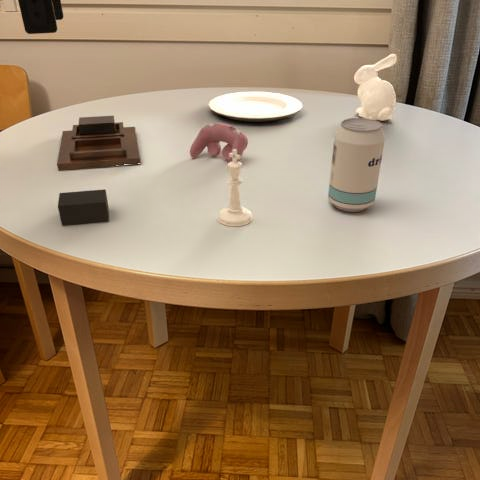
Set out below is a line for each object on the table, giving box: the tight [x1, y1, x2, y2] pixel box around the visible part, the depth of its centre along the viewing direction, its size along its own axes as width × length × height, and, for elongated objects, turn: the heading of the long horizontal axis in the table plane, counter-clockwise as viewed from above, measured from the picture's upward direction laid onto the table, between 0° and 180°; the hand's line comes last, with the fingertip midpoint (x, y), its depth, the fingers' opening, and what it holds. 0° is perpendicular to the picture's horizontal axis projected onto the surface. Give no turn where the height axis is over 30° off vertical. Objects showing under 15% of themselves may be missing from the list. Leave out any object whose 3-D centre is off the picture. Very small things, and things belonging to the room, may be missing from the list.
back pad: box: [57, 189, 110, 226], centre depth 75 cm, size 6×4×3 cm
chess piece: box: [217, 149, 253, 227], centre depth 73 cm, size 5×5×10 cm
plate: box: [208, 91, 303, 123], centre depth 118 cm, size 21×21×2 cm
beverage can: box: [327, 117, 386, 213], centre depth 76 cm, size 7×7×12 cm
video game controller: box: [189, 122, 249, 164], centre depth 94 cm, size 10×5×7 cm, turn 56°
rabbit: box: [353, 53, 398, 122], centre depth 113 cm, size 12×9×12 cm
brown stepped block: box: [56, 115, 142, 171], centre depth 97 cm, size 14×18×4 cm
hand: (46, 25), depth 59 cm, fingers open, 9 cm apart
